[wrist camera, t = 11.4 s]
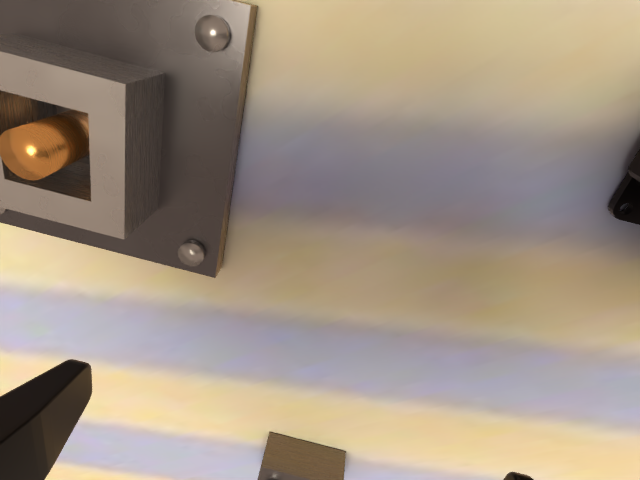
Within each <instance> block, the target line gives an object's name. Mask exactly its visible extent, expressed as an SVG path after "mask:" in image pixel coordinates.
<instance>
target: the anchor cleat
mask: <svg viewBox="0 0 640 480" xmlns="http://www.w3.org/2000/svg"><path fill="white" fill-rule="evenodd" d="M345 453H346V451H342V450H338V449H334V448H330V447H326V446H322V445H318V444H314V443H311V442H307V441H303V440H299V439H295V438H291V437H287V436H283V435H279V434H275V433H272V432H270V433H269V437H268V441H267V445H266V449H265V453H264V456H263V460H262V464H261V468H260V472H259V476H258V480H344V467H345Z"/></svg>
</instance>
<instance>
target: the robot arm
mask: <svg viewBox="0 0 640 480" xmlns="http://www.w3.org/2000/svg"><path fill="white" fill-rule="evenodd" d="M628 170H629V172H628V173H627V175H626V177H625V178H624V180H623V181H622V183H621V185H620V186H619V188H618V190H617V191H616V193H615V194H614V196H613V198H612V199H611V201H610V203H609V206H608V208H609V211H610V213H611V214H612V215H613V216H614V217H616V218H617V219H619V220H623V221H627V222H631V223H635V224H639V225H640V149H639V151H638V153H637V154H636V156H635V158H634V159H633V161H632V162H631V164H630V166H629V168H628ZM626 203H629V204H628V207H627V208H626V209H624V210H622V211H619V210H620V207H621V206H622V205H623V204H626ZM91 394H92V374H91V366H90V365H89V364H88V363H86V362H82V361H78V360H73V359H71V360H67V361H65V362H63V363H61V364H59V365H58V366H56V367H54V368H52V369H50V370H48V371H46V372H45V373H43V374H41V375H39V376H37V377H35V378H34V379H32V380H30V381H28V382H26V383H24V384H23V385H21V386H19V387H17V388H15V389H13V390H11V391H10V392H8V393H6V394H4V395H2V396H0V480H45V478H46V476H47V475H48V473H49V472H50V470H51V468H52V467H53V465H54V463H55V461H56V460H57V458H58V456H59V454H60V452H61V451H62V449H63V447H64V445H65V443H66V442H67V440H68V438H69V436H70V434H71V433H72V431H73V429H74V427H75V425H76V424H77V422H78V420H79V418H80V416H81V415H82V413H83V411H84V409H85V407H86V406H87V404H88V402H89V400H90V397H91ZM503 480H533V479H532V478H531V477H530V476H527V475H524V474H520V473H516V472H510V473H508V474H507V475H506V477H505V478H504V479H503Z"/></svg>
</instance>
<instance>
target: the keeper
mask: <svg viewBox="0 0 640 480" xmlns="http://www.w3.org/2000/svg"><path fill="white" fill-rule="evenodd" d="M257 7H258V6H256V5H252V4H248V3H244V2H241V1H237V0H0V34H13V33H16V34H19V35H23V36H27V37H31V38H35V39H38V40H42V41H46V42H50V43H54V44H57V45H61V46H65V47H69V48H73V49H76V50H80V51H84V52H88V53H92V54H95V55H99V56H103V57H107V58H110V59H114V60H118V61H122V62H126V63H129V64H133V65H137V66H141V67H145V68H148V69H152V70H156V71H160V72H164V73H165V83H164V103H163V123H162V143H161V163H160V183H159V203H158V210H156V211H155V212H154V213H153V214H152V215H151V216H150V217H149V218H148V219H146V220H145V221H144V222H143V223H142V224H141V225H140V226H139V227H138V228H136V229H135V230H134V231H133V232H132V233H131V234H130V235H129V236H128V237H126V238H125V239H120V238H117V237H113V236H109V235H105V234H101V233H97V232H94V231H90V230H86V229H82V228H78V227H74V226H71V225H67V224H63V223H59V222H55V221H51V220H48V219H44V218H40V217H36V216H32V215H28V214H25V213H21V212H17V211H13V210H9V209H5V208H2V207H0V222H1V223H5V224H9V225H13V226H16V227H20V228H24V229H28V230H32V231H36V232H40V233H44V234H47V235H51V236H55V237H59V238H63V239H67V240H71V241H75V242H78V243H82V244H86V245H90V246H94V247H98V248H102V249H106V250H109V251H113V252H117V253H121V254H125V255H129V256H133V257H137V258H140V259H144V260H148V261H152V262H156V263H160V264H164V265H168V266H172V267H175V268H179V269H183V270H187V271H191V272H195V273H199V274H203V275H206V276H210V277H214V278H215V277H216V276H217V274H218V273H219V271H220V269H221V268H222V262H223V255H224V247H225V240H226V233H227V225H228V218H229V211H230V204H231V196H232V189H233V182H234V174H235V167H236V160H237V152H238V145H239V138H240V131H241V123H242V116H243V109H244V101H245V94H246V87H247V79H248V72H249V65H250V58H251V50H252V43H253V36H254V28H255V21H256V14H257ZM52 107H53V116H50V117H47V118H43V119H40V120H37V121H34V122H31V123H28V124H25V125H21V126H18V127H15V128H12V129H9V130H7V131H5V132H3V133H2V135H1V136H0V156H1V158H2V160H3V162H4V163H5V165H6V166H7V167H8V168H9V169H10V170H11V171H12V172H13V173H15V174H16V175H18V176H19V177H21V178H24V179H27V180H39V179H42V178H44V177H46V176H48V175H50V174H52V173H54V172H56V171H58V170H60V169H62V168H64V167H66V166H68V165H70V164H72V163H74V162H76V161H78V162H81V163H85V164H89V165H90V149H89V120H88V113H85V112H81V111H77V110H74V109H70V108H66V107H62V106H58V105H55V104H52Z"/></svg>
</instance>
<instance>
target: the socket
mask: <svg viewBox="0 0 640 480" xmlns="http://www.w3.org/2000/svg"><path fill="white" fill-rule="evenodd" d="M164 83H165V73H164V72H160V71H156V70H152V69H148V68H145V67H141V66H137V65H133V64H129V63H126V62H122V61H118V60H114V59H110V58H107V57H103V56H99V55H95V54H92V53H88V52H84V51H80V50H76V49H73V48H69V47H65V46H61V45H57V44H54V43H50V42H46V41H42V40H38V39H35V38H31V37H27V36H23V35H19V34H16V33H13V34H0V136H1V135H2V133H3V132H5V131H7V130H9V129H12V128H15V127H18V126H21V125H25V124H28V123H31V122H34V121H37V120H40V119H43V118H47V117H50V116H53V107H52V104H55V105H58V106H62V107H66V108H70V109H74V110H77V111H81V112H85V113H88V120H89V149H90V165H89V164H85V163H81V162H78V161H76V162H74V163H72V164H70V165H68V166H66V167H64V168H62V169H60V170H58V171H56V172H54V173H52V174H50V175H48V176H46V177H44V178H42V179H39V180H27V179H24V178H21V177H19V176H18V175H16V174H15V173H13V172H12V171H11V170H10V169H9V168H8V167H7V166H6V165H5V163H4V162H3V160H2V158H1V156H0V207H2V208H5V209H9V210H13V211H17V212H21V213H25V214H28V215H32V216H36V217H40V218H44V219H48V220H51V221H55V222H59V223H63V224H67V225H71V226H74V227H78V228H82V229H86V230H90V231H94V232H97V233H101V234H105V235H109V236H113V237H117V238H120V239H125V238H126V237H128V236H129V235H130V234H131V233H132V232H133V231H134V230H135V229H136V228H138V227H139V226H140V225H141V224H142V223H143V222H144V221H145V220H146V219H148V218H149V217H150V216H151V215H152V214H153V213H154V212H155V211H156V210H158V203H159V183H160V163H161V143H162V123H163V103H164Z"/></svg>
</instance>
